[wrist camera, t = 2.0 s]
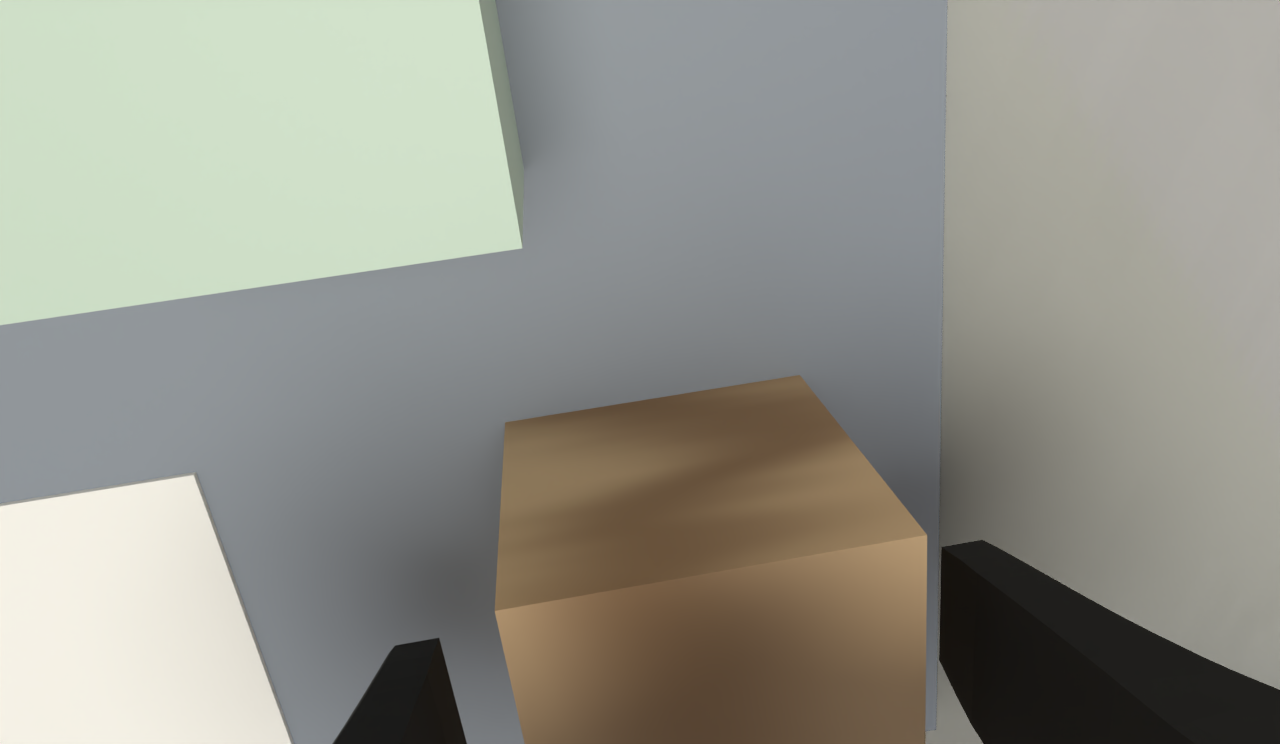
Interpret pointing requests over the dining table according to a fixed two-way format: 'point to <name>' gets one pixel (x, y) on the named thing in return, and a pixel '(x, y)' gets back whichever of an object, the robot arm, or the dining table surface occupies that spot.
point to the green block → (245, 145)
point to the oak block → (708, 576)
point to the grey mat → (472, 375)
